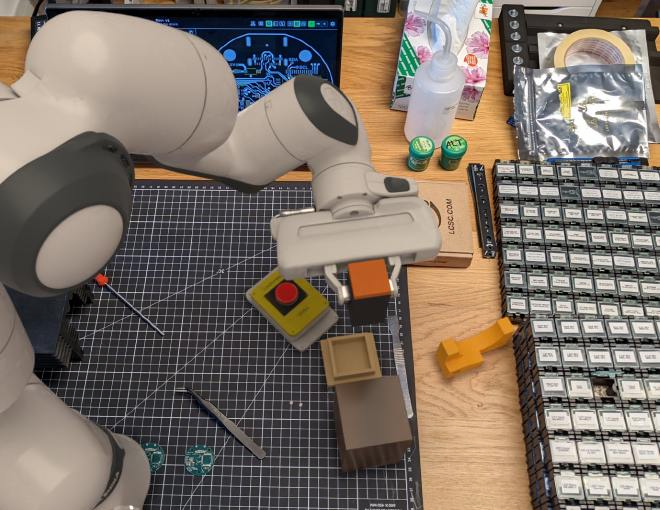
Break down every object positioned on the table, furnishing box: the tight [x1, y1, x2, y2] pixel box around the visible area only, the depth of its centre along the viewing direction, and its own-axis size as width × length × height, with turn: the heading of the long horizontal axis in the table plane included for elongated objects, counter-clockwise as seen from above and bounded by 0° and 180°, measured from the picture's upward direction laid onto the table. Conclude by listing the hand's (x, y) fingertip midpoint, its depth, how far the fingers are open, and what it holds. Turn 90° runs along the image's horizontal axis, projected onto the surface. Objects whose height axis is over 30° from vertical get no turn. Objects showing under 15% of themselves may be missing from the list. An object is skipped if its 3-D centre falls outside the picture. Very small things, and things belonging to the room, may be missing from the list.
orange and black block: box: [346, 259, 391, 328], centre depth 74 cm, size 4×4×9 cm
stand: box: [332, 374, 414, 473], centre depth 91 cm, size 9×9×16 cm
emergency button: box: [245, 265, 339, 353], centre depth 106 cm, size 9×4×15 cm
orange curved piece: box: [434, 316, 516, 380], centre depth 102 cm, size 12×4×6 cm, turn 111°
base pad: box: [319, 331, 383, 388], centre depth 102 cm, size 9×8×3 cm
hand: (369, 299), depth 73 cm, fingers closed on orange and black block, 4 cm apart
